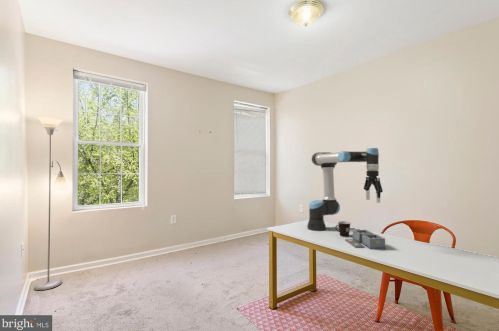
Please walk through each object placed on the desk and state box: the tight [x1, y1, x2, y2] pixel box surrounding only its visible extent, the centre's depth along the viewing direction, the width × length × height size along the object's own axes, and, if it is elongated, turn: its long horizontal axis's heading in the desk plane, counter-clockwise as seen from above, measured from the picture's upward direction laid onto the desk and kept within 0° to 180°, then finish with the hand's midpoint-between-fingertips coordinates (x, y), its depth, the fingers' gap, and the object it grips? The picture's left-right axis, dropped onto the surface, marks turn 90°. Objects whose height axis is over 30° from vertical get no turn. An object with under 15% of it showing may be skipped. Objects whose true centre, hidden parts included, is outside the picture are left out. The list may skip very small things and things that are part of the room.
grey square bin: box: [352, 229, 375, 244], centre depth 179 cm, size 10×10×6 cm
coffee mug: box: [335, 220, 351, 238], centre depth 192 cm, size 12×9×10 cm
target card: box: [344, 238, 366, 249], centre depth 172 cm, size 16×6×1 cm, turn 3°
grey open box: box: [361, 233, 386, 250], centre depth 167 cm, size 10×10×6 cm
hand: (372, 201), depth 175 cm, fingers open, 13 cm apart
